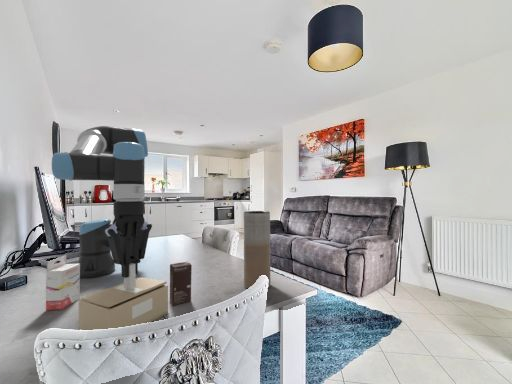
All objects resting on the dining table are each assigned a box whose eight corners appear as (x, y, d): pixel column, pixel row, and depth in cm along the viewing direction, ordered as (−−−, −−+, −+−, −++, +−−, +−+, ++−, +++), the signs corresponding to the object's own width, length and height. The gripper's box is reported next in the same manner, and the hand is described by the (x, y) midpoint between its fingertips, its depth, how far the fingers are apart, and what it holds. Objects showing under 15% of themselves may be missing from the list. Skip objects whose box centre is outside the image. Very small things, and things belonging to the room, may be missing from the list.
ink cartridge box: (62, 310, 74) (62, 260, 74) (45, 310, 73) (45, 261, 73) (80, 298, 82) (80, 254, 82) (65, 298, 82) (65, 254, 82)
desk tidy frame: (38, 264, 123) (38, 259, 123) (82, 255, 141) (82, 251, 141) (59, 269, 114) (59, 264, 114) (103, 259, 132) (103, 254, 132)
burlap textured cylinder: (239, 288, 89) (239, 212, 89) (250, 279, 98) (249, 210, 99) (265, 292, 85) (264, 213, 86) (273, 282, 95) (273, 211, 95)
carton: (78, 331, 62) (78, 299, 62) (138, 304, 77) (138, 278, 77) (110, 345, 56) (110, 310, 56) (168, 313, 71) (168, 285, 71)
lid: (81, 300, 61) (81, 297, 62) (140, 279, 77) (140, 276, 77) (108, 307, 56) (108, 304, 56) (166, 283, 71) (166, 281, 71)
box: (173, 306, 75) (172, 267, 75) (169, 301, 79) (169, 263, 79) (192, 301, 79) (192, 264, 79) (187, 296, 82) (187, 261, 83)
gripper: (114, 201, 59) (114, 300, 58) (158, 200, 70) (159, 282, 70) (96, 201, 62) (96, 294, 62) (141, 200, 74) (141, 278, 73)
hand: (129, 288), depth 66 cm, fingers closed
